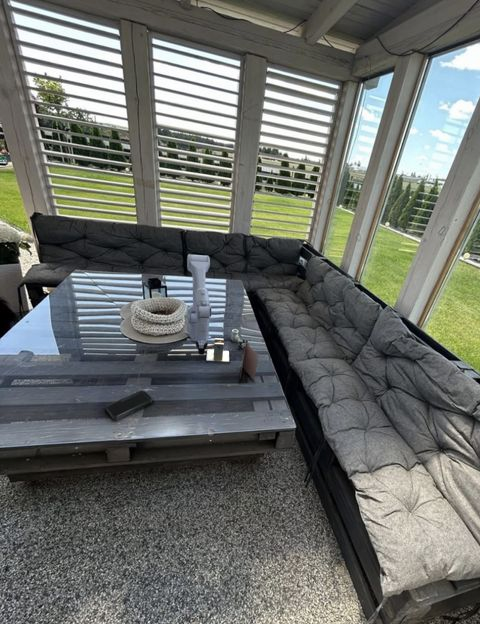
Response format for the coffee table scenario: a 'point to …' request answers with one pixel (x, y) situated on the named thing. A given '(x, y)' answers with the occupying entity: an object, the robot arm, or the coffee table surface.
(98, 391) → the coffee table surface
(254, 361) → the greeting card
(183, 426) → the coffee table surface
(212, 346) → the lever
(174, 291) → the coffee table surface
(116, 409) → the phone
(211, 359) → the tap bracket
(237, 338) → the valve
